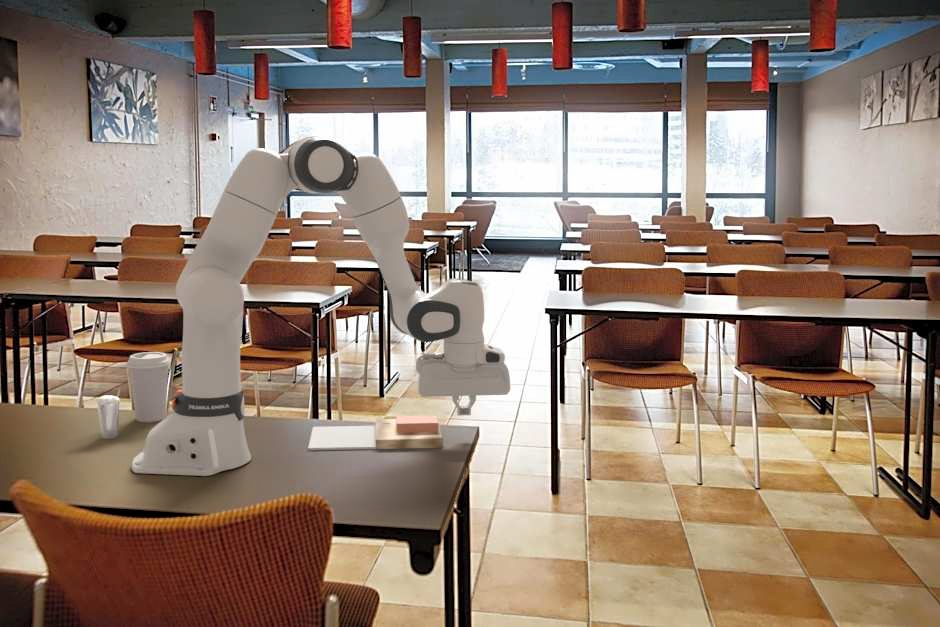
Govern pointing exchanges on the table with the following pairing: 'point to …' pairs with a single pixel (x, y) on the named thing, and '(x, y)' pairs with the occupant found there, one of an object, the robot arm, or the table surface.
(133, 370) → the coffee cup
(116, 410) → the milkshake
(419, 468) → the table surface
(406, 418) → the pink rectangular block
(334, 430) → the mat
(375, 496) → the table surface
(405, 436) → the riser
